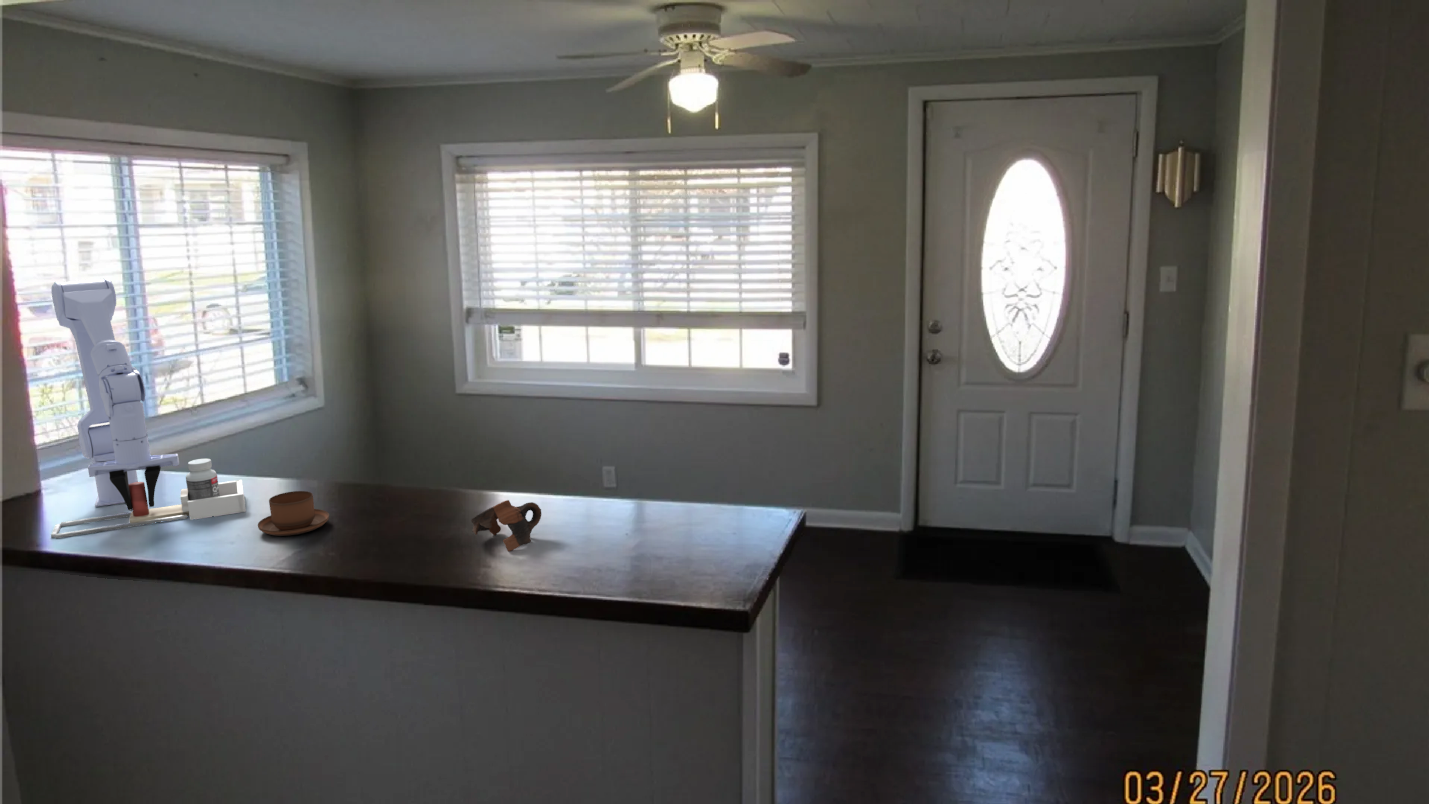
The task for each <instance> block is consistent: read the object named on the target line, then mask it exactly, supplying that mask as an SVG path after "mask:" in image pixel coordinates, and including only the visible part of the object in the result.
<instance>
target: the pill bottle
mask: <svg viewBox="0 0 1429 804" xmlns="http://www.w3.org/2000/svg"><path fill="white" fill-rule="evenodd" d="M212 464H213V463H212V460H211V459H210V458H197V459H193V460H190V461H188V463H187V469H188V471H190V472H188V473H187V474H186V476H185V482H186V489H187V490H188V497H189V501H191V500H198V499H205V498H211V497H218V496H220V493H219V486H218V483H219V481H218V474H217V472H216V471H215V469H212V467H213V465H212Z"/></svg>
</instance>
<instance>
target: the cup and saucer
mask: <svg viewBox="0 0 1429 804" xmlns="http://www.w3.org/2000/svg"><path fill="white" fill-rule="evenodd" d="M268 503H269V510H270V515H269V516H266V517H264V518H262V519H261V520H260V521H259V522H257V528H258V530H259V531H260V532H262V533H264V534H266V535H271V536H280V537H281V536H282V537H286V536H295V535H301V534H305V533H308V532H311V531H314V530H316V529H318V528H321V527H322V526H323V525H324V524H325V523H327V522H328V521H329V518H330V513H329V512H328V511H326V510H324V509H319V508H315V502H314V493H312V492H311V491H306V490H294V491H287V492H281V493H278V494H276V495H273V496H272V497H270V498H269V499H268Z"/></svg>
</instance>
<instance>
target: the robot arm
mask: <svg viewBox="0 0 1429 804" xmlns="http://www.w3.org/2000/svg"><path fill="white" fill-rule="evenodd" d="M50 289H51V298H52V302H53V303H52V304H53V307H54V312H55V316H56V319H57V321H58V324H59V326H61V327H64V328H67V329H69V330H70V332H71V334H72V336H73V339H74V341H75V346H76V350H77V355H78V360H79V364H80V368H81V374H82V377H83V381H84V387H85V391H86V396H87V399H88V403H89V411H88V412H87V413H85V414H84V415H83V416H82V417H81V418H80V419H79V421H78V423H77V427H76V428H77V432H78V443H79V448H80V451H81V453H82V456H83V457H84V458H86V459H87V460H91V462H92V463H91V464H88V466H87V471H88V475H89V478H93V477H94V479H95V485H96V490H97V491H96V493H97V498H96V500H95V503H94V507H102V506H110V505H117V504H124V503H125V506H126V508H127V511H133V510H132V503H131V498H130V492H129V486H128V485H129V484H131V483H134V482H139V478H138V474H137V473H138V472H137V471H140V470H144V473H143V474H144V478H145V482H146V483H145V484H146V489H147V496H148V497H147V501H148V508H152V507H153V508H154V506H155V492H156V485H157V483H158V479H159V477H160V476H159V475H160V473H161V468H163V467H177V466H179V465H180V459H179V454H178V453H170V454H152V455H151V448H150V442H149V435H148V430H147V429H148V428H147V423H146V416H145V411H144V404H143V402H145V400H146V388H145V384H144V379H143V378H142V375H141V373H140V371H139V370H138V369H137V368H136V367H134V366H133V365H132V362H131V360H130V357H129V355H128V351H127V349H126V346H125V344H124V343H122V342H120V341H117V340H116V337H115V335H114V330H113V325H112V322H111V321H112V320H113V316H114V314H115V310H116V306H117V295H116V291H115V286H114V284H113V282H112V281H111V280H110V279H109V278H103V279H101V278H100V279H90V280H75V281H64V282H63V281H62V282H59V281H55V282H53V284H52V285H51V288H50ZM106 423H108V424H106ZM99 424H102V425H99ZM94 425H97V426H94Z"/></svg>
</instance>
